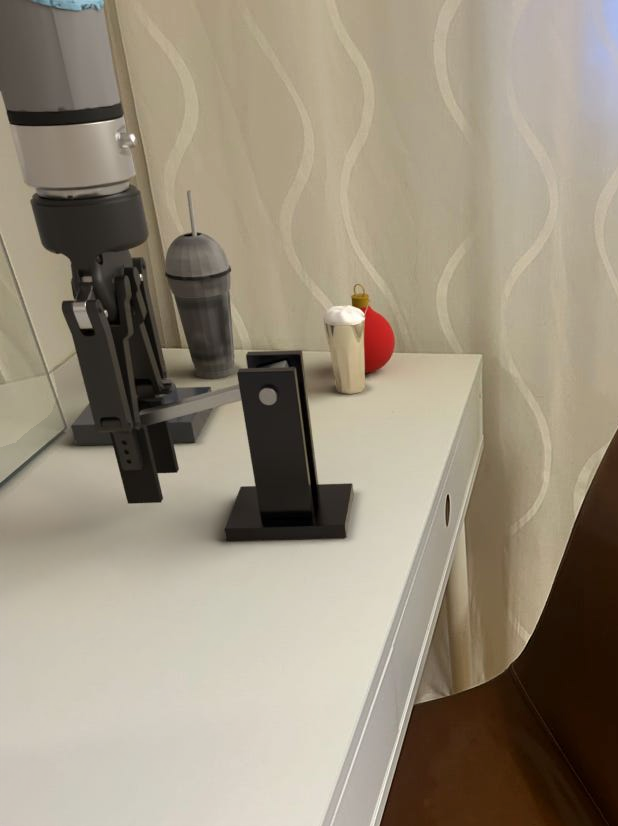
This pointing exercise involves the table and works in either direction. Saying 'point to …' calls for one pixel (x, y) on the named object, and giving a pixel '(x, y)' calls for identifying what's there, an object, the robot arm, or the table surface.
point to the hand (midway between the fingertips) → (154, 485)
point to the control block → (180, 427)
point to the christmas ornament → (374, 334)
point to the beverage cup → (202, 299)
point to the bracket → (283, 459)
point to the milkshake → (346, 346)
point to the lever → (193, 402)
